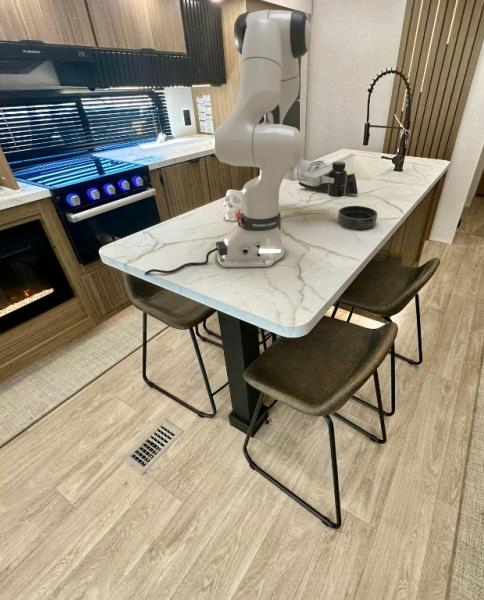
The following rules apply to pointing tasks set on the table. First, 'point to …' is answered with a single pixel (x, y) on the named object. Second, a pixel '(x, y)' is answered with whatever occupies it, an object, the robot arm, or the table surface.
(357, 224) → the bowl
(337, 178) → the supplement bottle
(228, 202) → the skull bowl
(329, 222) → the table surface
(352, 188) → the magazine
